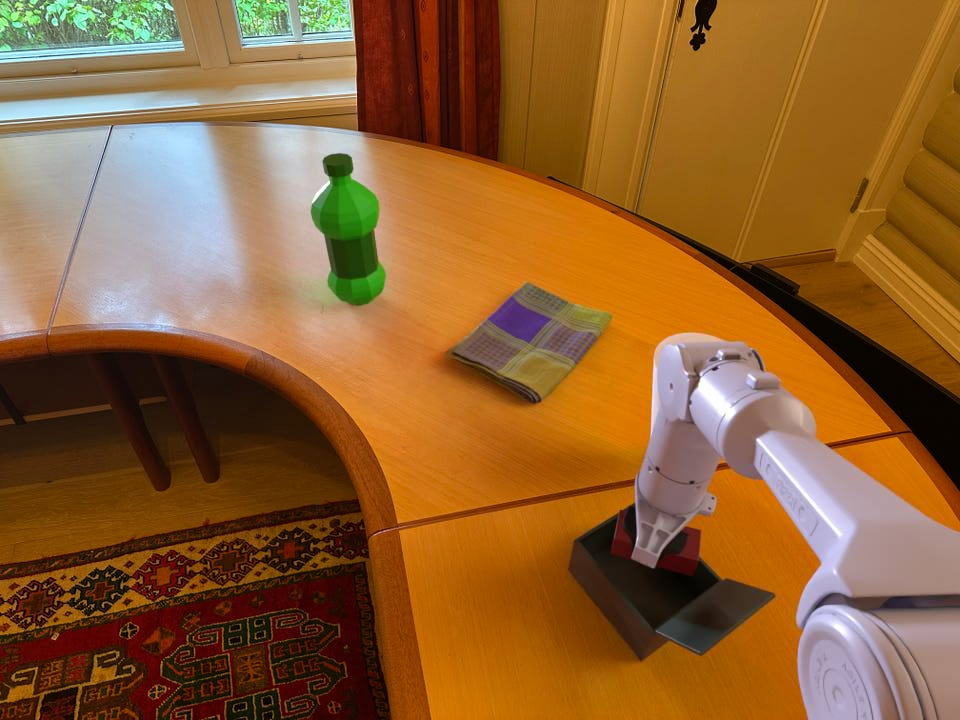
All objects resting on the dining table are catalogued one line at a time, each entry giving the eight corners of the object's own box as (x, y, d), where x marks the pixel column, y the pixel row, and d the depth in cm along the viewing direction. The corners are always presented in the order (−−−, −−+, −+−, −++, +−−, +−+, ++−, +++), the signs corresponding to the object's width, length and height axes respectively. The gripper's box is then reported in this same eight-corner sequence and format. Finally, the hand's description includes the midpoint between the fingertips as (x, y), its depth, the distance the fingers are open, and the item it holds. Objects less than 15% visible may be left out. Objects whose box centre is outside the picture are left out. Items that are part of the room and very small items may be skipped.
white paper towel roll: (726, 467, 79) (772, 367, 66) (677, 513, 74) (717, 414, 61) (659, 420, 85) (690, 320, 72) (610, 460, 79) (634, 360, 67)
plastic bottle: (375, 319, 101) (354, 179, 84) (319, 307, 103) (287, 169, 86) (399, 285, 108) (384, 150, 91) (346, 275, 110) (321, 141, 93)
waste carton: (708, 610, 65) (724, 582, 60) (640, 662, 61) (653, 635, 57) (632, 528, 72) (642, 497, 68) (567, 569, 68) (573, 539, 64)
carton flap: (726, 577, 60) (727, 581, 60) (654, 630, 56) (656, 634, 56) (774, 592, 55) (776, 596, 55) (699, 652, 51) (701, 656, 51)
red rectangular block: (695, 545, 62) (701, 529, 60) (692, 576, 59) (698, 561, 57) (616, 525, 64) (619, 509, 62) (610, 554, 61) (613, 538, 59)
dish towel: (616, 326, 100) (619, 312, 98) (534, 412, 86) (535, 399, 84) (528, 287, 108) (529, 274, 106) (440, 361, 93) (439, 347, 92)
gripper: (710, 545, 45) (670, 624, 54) (746, 416, 54) (707, 502, 64) (619, 506, 48) (596, 588, 57) (668, 390, 57) (642, 476, 66)
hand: (650, 541), depth 60 cm, fingers closed on red rectangular block, 4 cm apart
